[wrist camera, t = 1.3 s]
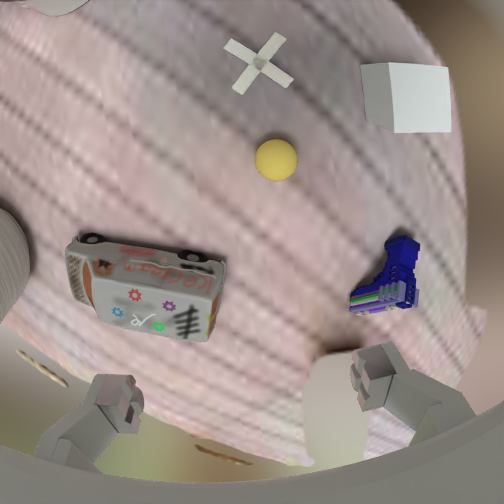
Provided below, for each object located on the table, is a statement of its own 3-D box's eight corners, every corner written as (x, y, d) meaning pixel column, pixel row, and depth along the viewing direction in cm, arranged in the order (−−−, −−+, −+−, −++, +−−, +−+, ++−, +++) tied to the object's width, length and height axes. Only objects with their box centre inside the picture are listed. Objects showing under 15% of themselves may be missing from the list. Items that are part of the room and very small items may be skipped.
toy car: (78, 228, 43) (46, 263, 34) (228, 253, 45) (222, 297, 36) (85, 280, 48) (61, 318, 40) (219, 306, 50) (213, 352, 42)
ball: (251, 139, 36) (251, 147, 31) (291, 133, 35) (297, 141, 31) (258, 176, 38) (258, 189, 34) (296, 171, 38) (302, 183, 33)
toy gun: (423, 244, 40) (419, 309, 36) (369, 265, 52) (360, 319, 48) (405, 232, 39) (400, 300, 35) (351, 257, 51) (341, 312, 47)
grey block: (359, 64, 30) (388, 62, 22) (411, 66, 29) (447, 67, 22) (366, 120, 34) (394, 132, 26) (415, 119, 33) (451, 132, 25)
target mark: (205, 72, 31) (205, 72, 31) (249, 16, 27) (249, 15, 27) (267, 111, 34) (267, 112, 34) (311, 57, 30) (312, 56, 30)
